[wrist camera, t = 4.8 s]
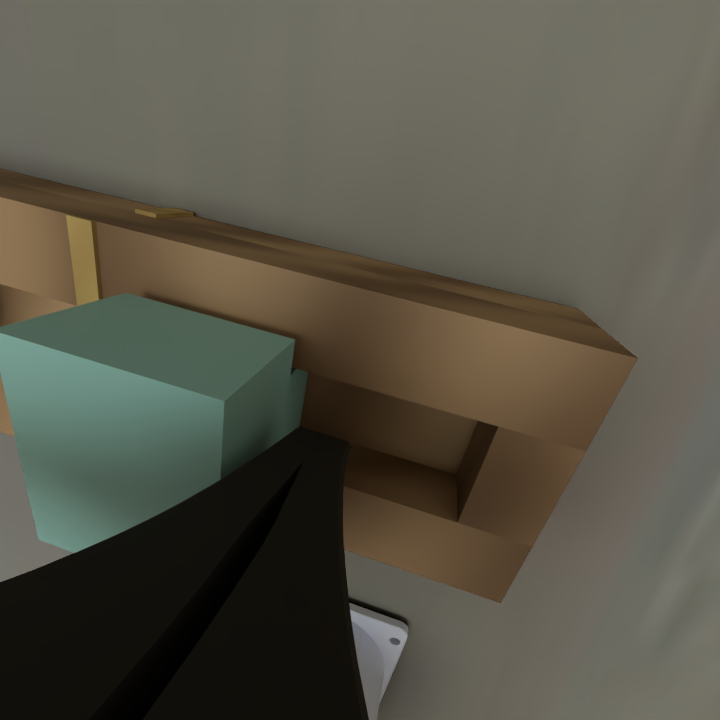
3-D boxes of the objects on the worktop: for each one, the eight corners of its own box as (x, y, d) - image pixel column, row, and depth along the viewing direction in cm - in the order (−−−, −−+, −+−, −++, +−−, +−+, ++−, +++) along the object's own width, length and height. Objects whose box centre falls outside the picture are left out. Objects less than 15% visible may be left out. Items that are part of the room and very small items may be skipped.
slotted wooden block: (579, 305, 11) (720, 416, 5) (487, 506, 15) (511, 708, 9) (-79, 146, 14) (-456, 105, 8) (-28, 345, 18) (-268, 416, 12)
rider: (324, 314, 11) (224, 401, 6) (300, 458, 13) (213, 605, 8) (184, 276, 11) (-10, 329, 6) (183, 421, 13) (38, 539, 9)
